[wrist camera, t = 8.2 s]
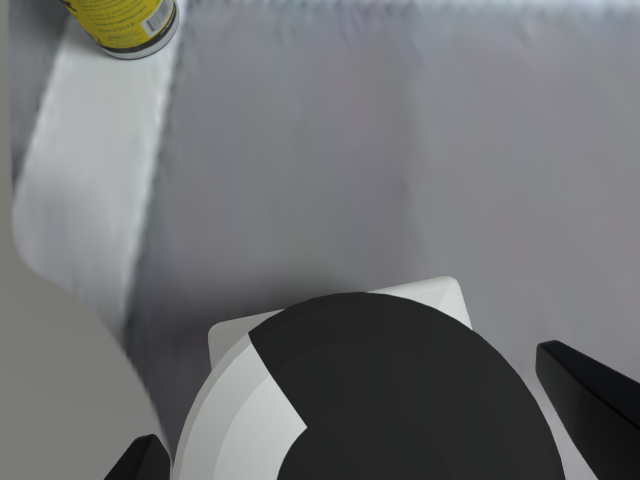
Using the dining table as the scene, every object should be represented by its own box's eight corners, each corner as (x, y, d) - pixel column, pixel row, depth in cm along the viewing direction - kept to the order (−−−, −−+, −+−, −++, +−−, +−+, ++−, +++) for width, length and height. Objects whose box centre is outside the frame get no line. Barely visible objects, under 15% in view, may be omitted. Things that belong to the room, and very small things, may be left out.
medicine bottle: (418, 303, 18) (535, 208, 7) (465, 484, 16) (756, 808, 5) (258, 336, 18) (97, 300, 7) (286, 520, 16) (124, 923, 5)
